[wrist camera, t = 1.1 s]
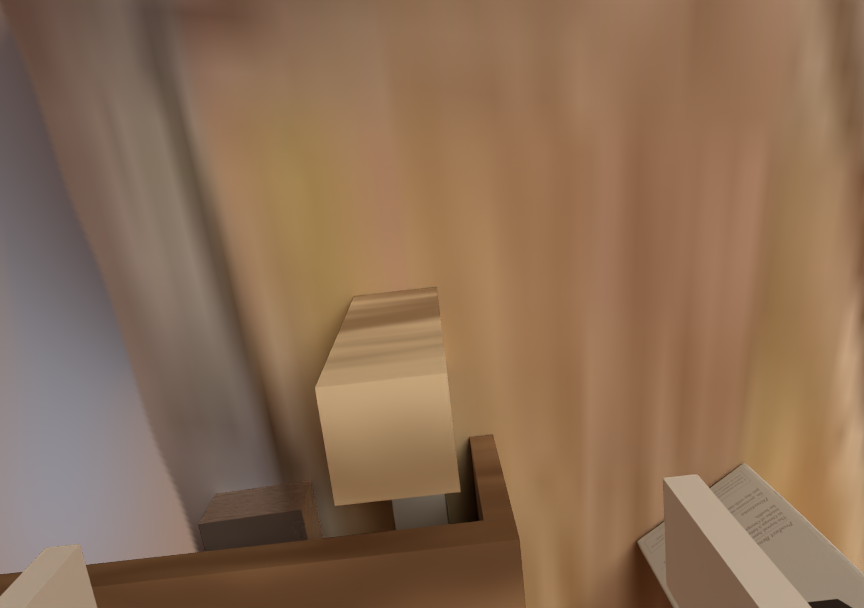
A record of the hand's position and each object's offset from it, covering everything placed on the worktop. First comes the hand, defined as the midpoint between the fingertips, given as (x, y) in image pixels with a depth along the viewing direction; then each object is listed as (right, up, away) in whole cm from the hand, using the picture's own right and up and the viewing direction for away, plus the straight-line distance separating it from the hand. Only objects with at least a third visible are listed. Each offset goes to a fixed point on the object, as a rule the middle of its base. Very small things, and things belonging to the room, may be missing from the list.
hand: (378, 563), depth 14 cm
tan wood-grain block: (0, -2, +19) cm, 19 cm away
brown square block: (-7, -6, +20) cm, 22 cm away
